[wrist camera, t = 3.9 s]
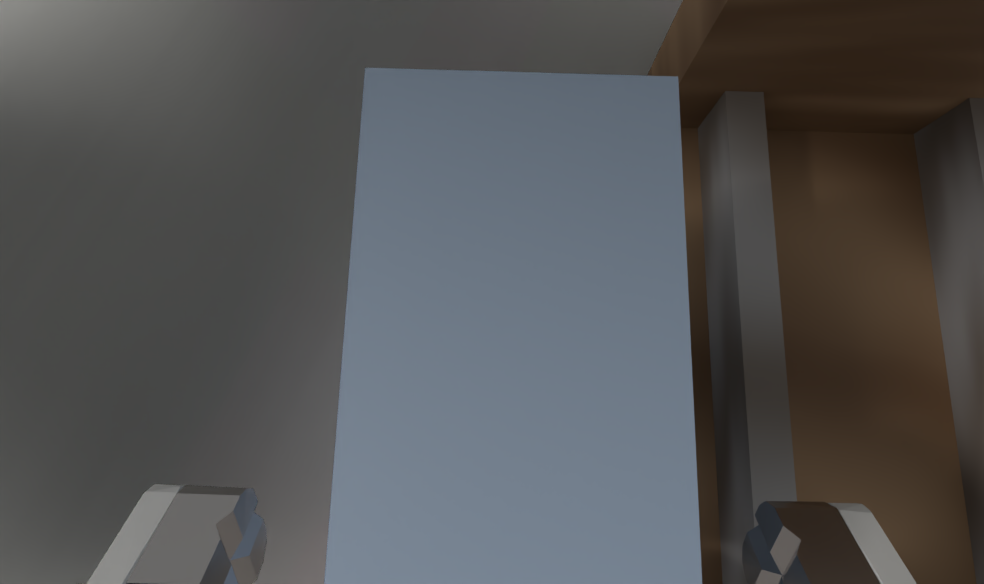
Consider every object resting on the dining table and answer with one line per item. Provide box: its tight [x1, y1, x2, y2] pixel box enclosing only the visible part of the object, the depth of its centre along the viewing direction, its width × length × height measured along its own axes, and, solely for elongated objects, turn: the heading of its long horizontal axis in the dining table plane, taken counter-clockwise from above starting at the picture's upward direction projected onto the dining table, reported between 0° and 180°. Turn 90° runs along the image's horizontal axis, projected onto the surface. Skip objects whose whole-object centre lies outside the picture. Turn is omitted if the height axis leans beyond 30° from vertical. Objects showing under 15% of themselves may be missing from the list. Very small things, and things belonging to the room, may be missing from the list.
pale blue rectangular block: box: [324, 68, 702, 584], centre depth 11 cm, size 7×4×11 cm, turn 179°
